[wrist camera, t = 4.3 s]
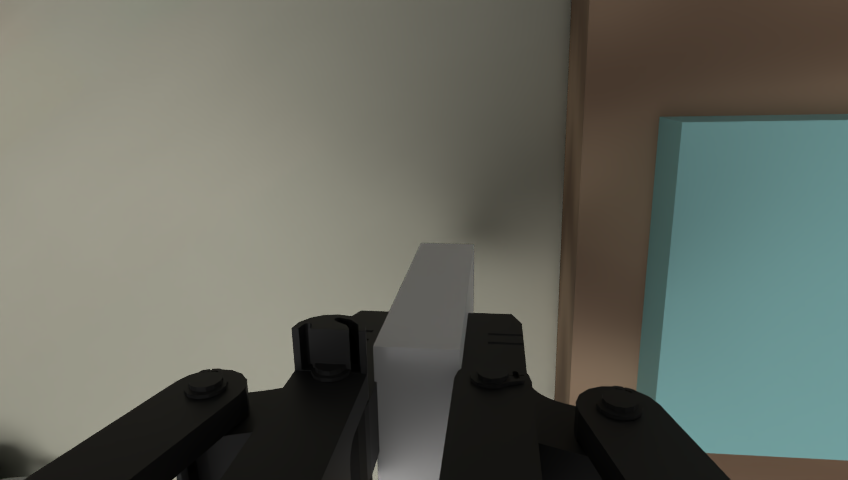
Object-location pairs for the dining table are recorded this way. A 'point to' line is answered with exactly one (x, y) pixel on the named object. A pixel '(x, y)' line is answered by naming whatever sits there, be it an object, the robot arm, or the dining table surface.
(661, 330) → the card
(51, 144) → the dining table surface
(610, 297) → the board
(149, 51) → the dining table surface
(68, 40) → the dining table surface
